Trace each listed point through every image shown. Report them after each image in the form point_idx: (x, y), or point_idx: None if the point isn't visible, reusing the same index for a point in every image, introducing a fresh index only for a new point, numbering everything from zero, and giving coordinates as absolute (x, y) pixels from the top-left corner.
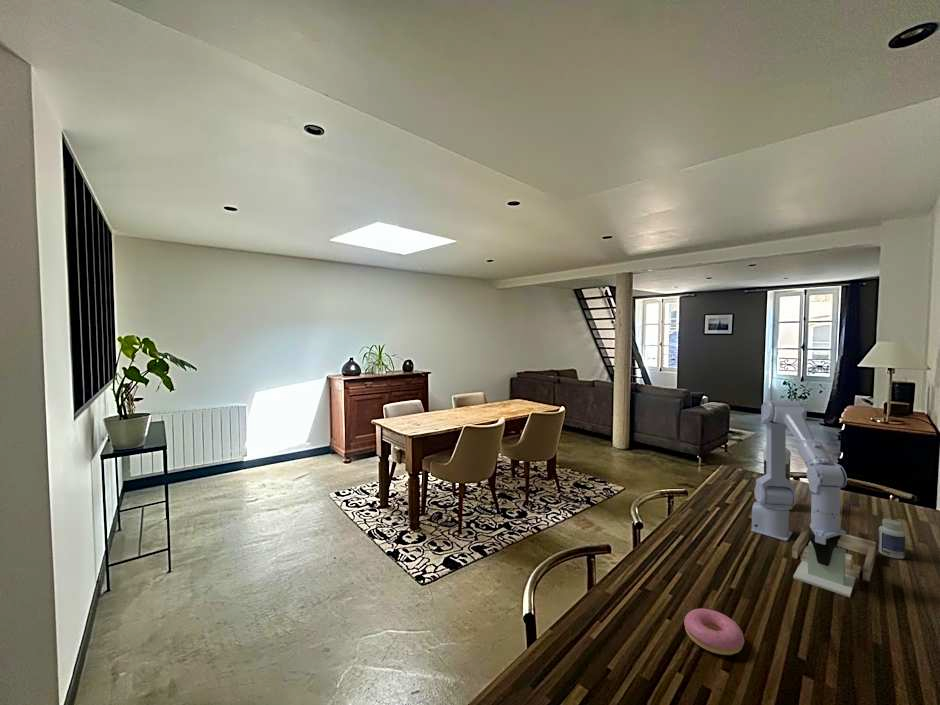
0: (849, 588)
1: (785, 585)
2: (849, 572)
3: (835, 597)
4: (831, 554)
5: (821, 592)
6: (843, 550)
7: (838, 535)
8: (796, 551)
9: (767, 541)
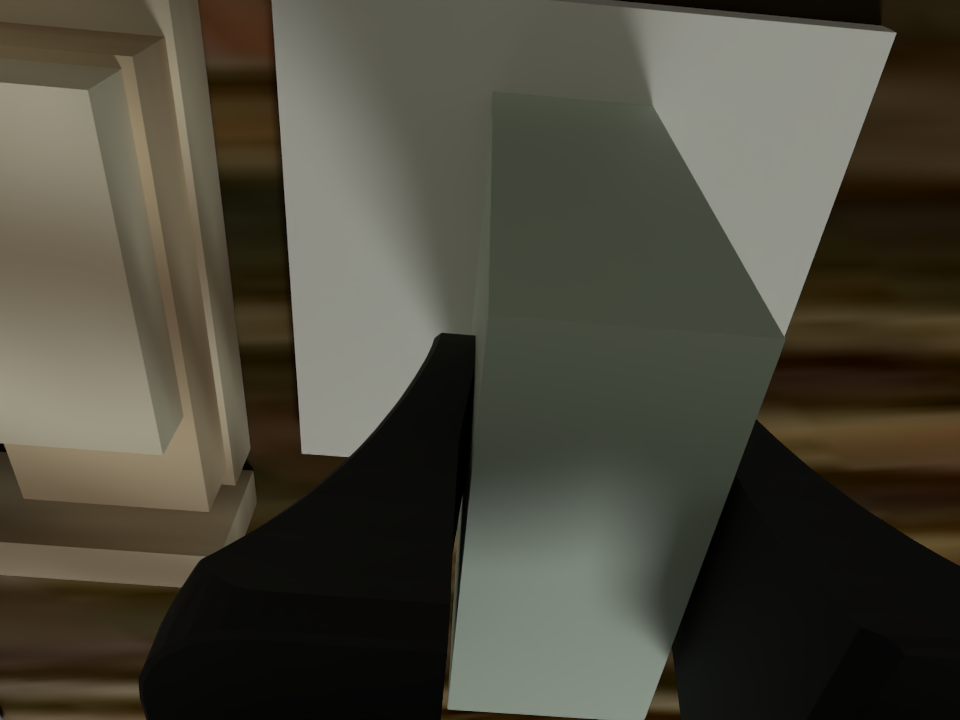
0: (695, 40)
1: (911, 499)
2: (191, 47)
3: (957, 161)
4: (820, 476)
5: (902, 275)
6: (549, 347)
7: (388, 678)
8: (232, 534)
9: (87, 642)
